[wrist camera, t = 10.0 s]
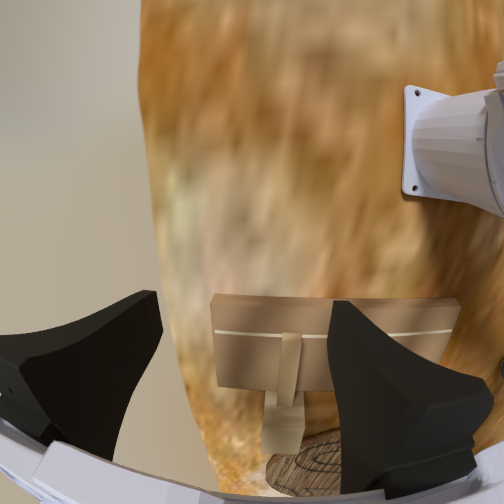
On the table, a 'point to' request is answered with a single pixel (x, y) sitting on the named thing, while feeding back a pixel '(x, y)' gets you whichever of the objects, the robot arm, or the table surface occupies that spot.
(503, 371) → the rubber mallet
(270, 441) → the beige block with handle
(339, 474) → the trivet
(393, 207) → the table surface
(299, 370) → the board
